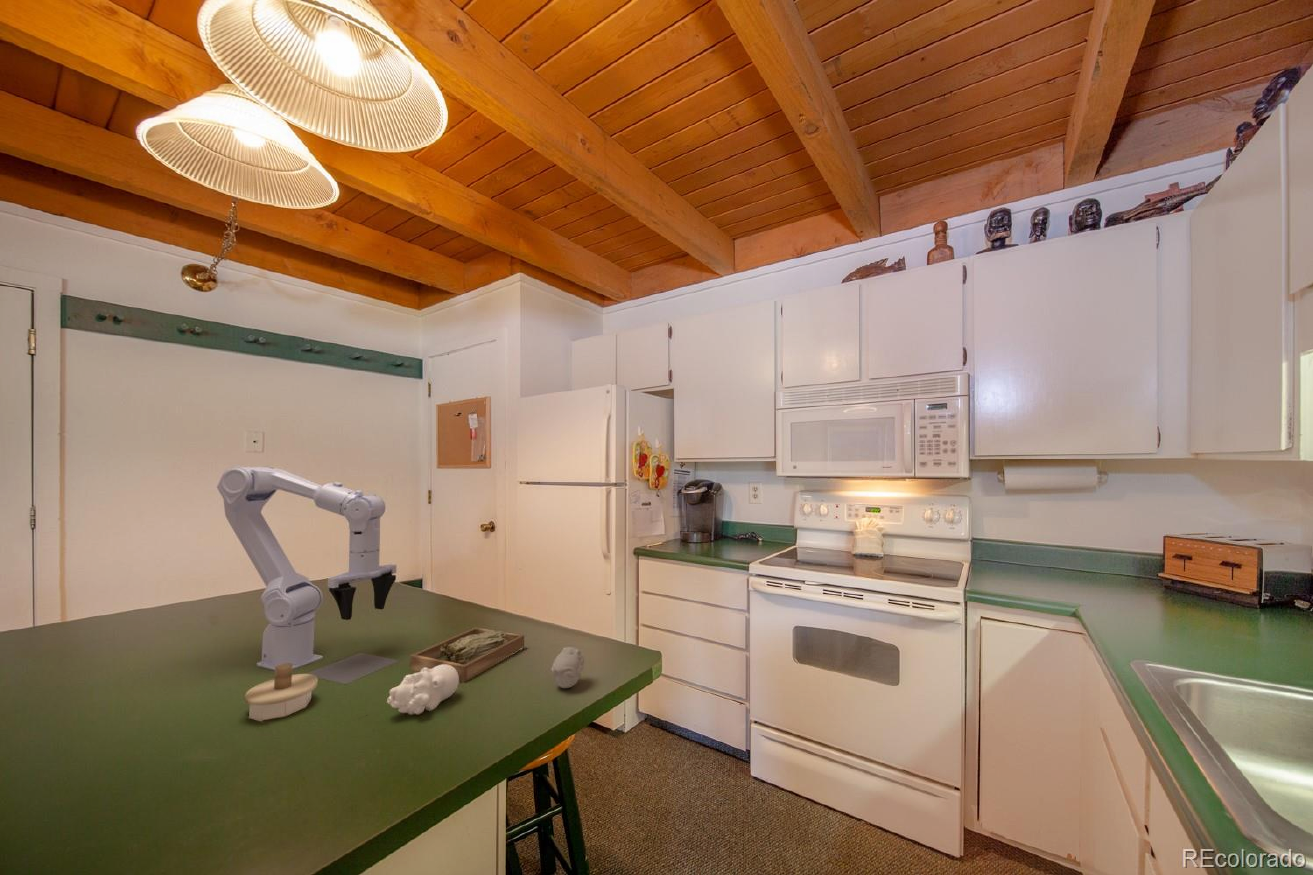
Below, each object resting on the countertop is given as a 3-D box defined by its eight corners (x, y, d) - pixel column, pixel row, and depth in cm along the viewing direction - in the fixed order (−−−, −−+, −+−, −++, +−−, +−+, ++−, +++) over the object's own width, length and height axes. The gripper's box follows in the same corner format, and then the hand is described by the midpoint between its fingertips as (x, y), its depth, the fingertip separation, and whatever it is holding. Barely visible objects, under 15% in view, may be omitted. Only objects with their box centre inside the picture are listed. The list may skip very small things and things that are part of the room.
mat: (304, 675, 97) (304, 674, 97) (360, 653, 108) (361, 652, 108) (344, 685, 92) (344, 684, 92) (399, 662, 103) (399, 660, 103)
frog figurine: (590, 681, 94) (591, 645, 94) (570, 697, 87) (570, 658, 88) (565, 676, 96) (565, 640, 97) (543, 691, 90) (543, 653, 90)
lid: (233, 697, 82) (234, 671, 82) (299, 674, 91) (299, 651, 91) (263, 710, 77) (264, 683, 77) (329, 685, 86) (330, 660, 86)
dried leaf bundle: (457, 678, 96) (457, 650, 96) (433, 665, 102) (434, 639, 103) (518, 655, 107) (518, 630, 108) (493, 645, 113) (494, 622, 114)
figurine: (472, 684, 87) (412, 709, 77) (453, 706, 89) (392, 733, 78) (456, 651, 90) (395, 671, 80) (437, 673, 92) (376, 695, 81)
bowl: (240, 714, 82) (241, 696, 82) (291, 694, 89) (292, 677, 89) (269, 724, 79) (270, 705, 79) (319, 702, 86) (320, 684, 86)
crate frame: (409, 670, 99) (409, 655, 99) (474, 639, 116) (475, 627, 116) (463, 682, 94) (464, 666, 94) (524, 648, 111) (524, 635, 111)
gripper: (344, 557, 97) (343, 626, 96) (406, 546, 110) (405, 606, 109) (321, 555, 99) (319, 622, 99) (384, 544, 113) (383, 603, 112)
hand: (363, 613), depth 104 cm, fingers open, 7 cm apart
